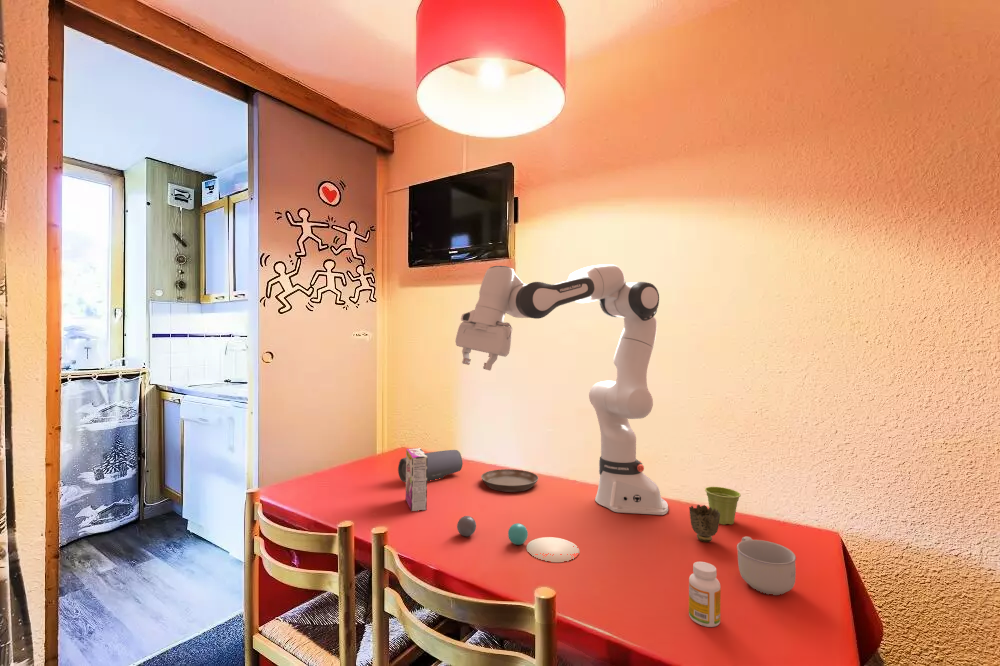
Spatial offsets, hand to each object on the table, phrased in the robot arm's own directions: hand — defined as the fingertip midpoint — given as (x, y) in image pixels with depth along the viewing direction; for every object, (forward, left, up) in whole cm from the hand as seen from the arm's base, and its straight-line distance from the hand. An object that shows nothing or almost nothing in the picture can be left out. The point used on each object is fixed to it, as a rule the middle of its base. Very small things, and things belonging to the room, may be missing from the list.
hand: (475, 366), depth 125 cm
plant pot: (-68, -27, -44) cm, 86 cm away
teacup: (-70, +8, -44) cm, 83 cm away
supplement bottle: (-56, +26, -44) cm, 76 cm away
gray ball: (-1, +8, -42) cm, 42 cm away
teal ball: (-15, +8, -42) cm, 45 cm away
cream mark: (-24, +8, -44) cm, 51 cm away
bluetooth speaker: (+29, -32, -44) cm, 62 cm away
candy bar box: (+22, -7, -44) cm, 50 cm away
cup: (-61, -11, -44) cm, 76 cm away
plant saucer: (0, -37, -45) cm, 58 cm away
